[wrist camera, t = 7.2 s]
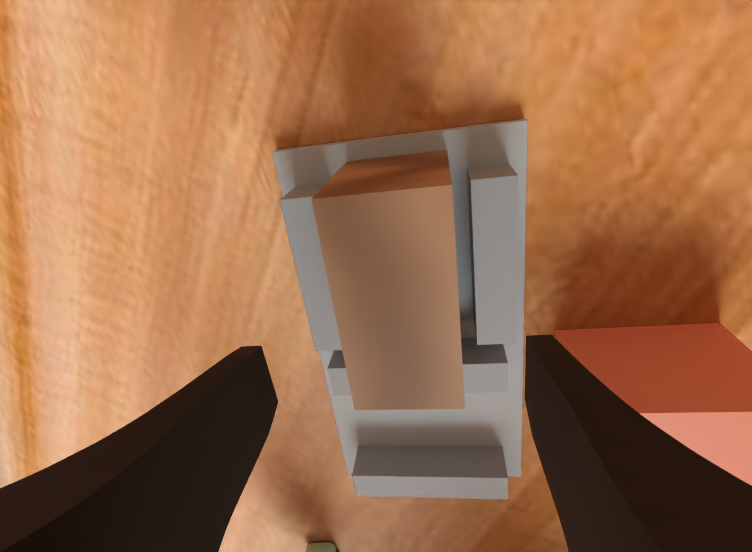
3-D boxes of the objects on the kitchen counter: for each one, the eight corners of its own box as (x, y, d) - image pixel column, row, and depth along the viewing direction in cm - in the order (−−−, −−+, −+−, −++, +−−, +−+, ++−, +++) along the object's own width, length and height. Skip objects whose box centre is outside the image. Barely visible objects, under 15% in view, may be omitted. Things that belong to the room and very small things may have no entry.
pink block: (718, 321, 19) (818, 411, 14) (702, 384, 20) (788, 485, 15) (553, 329, 20) (592, 413, 15) (550, 388, 22) (584, 482, 17)
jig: (524, 118, 16) (539, 127, 14) (519, 467, 24) (528, 510, 22) (277, 149, 18) (253, 162, 15) (349, 466, 26) (341, 505, 23)
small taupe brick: (447, 149, 16) (452, 184, 11) (457, 324, 20) (465, 409, 15) (347, 161, 17) (311, 199, 12) (373, 327, 20) (354, 410, 15)
